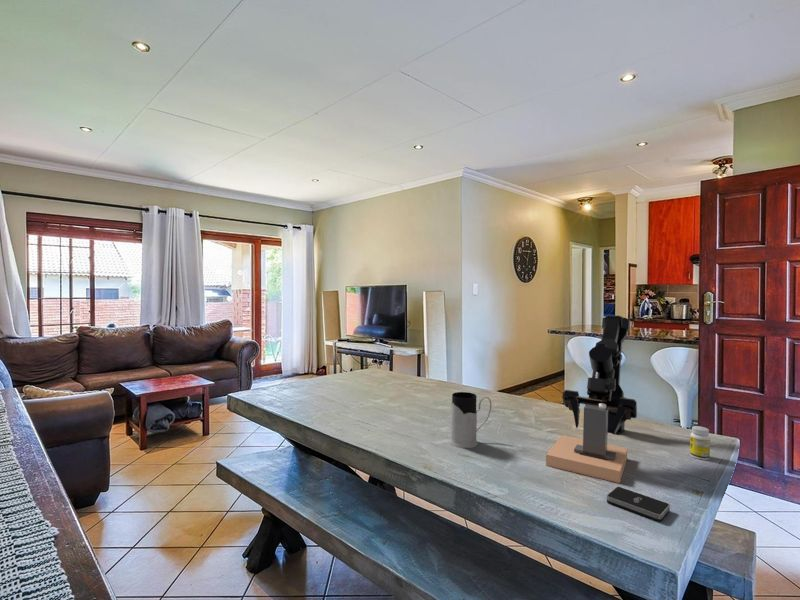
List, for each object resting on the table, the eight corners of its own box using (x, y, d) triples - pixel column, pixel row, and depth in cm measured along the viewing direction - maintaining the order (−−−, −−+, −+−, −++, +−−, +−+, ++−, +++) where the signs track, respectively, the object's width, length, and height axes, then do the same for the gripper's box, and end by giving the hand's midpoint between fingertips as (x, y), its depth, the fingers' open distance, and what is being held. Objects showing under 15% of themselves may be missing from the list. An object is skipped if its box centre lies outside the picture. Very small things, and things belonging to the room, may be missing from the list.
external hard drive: (617, 494, 99) (617, 486, 99) (670, 513, 91) (671, 504, 91) (605, 504, 95) (605, 495, 94) (661, 525, 86) (661, 516, 86)
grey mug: (444, 439, 133) (445, 392, 132) (483, 434, 138) (483, 389, 137) (458, 449, 124) (458, 399, 124) (498, 443, 130) (499, 395, 129)
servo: (573, 463, 116) (575, 401, 115) (576, 458, 119) (578, 398, 118) (613, 472, 110) (615, 408, 109) (615, 466, 113) (617, 404, 113)
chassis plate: (561, 444, 129) (561, 435, 129) (627, 458, 119) (627, 448, 119) (545, 465, 114) (546, 454, 114) (619, 483, 104) (620, 471, 104)
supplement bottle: (690, 452, 124) (691, 424, 124) (710, 456, 121) (711, 427, 121) (688, 457, 120) (689, 428, 120) (709, 461, 117) (710, 432, 117)
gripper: (564, 362, 122) (554, 408, 113) (637, 370, 112) (632, 421, 103) (569, 383, 129) (560, 429, 120) (639, 393, 118) (634, 443, 110)
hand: (594, 430), depth 113 cm, fingers open, 9 cm apart
